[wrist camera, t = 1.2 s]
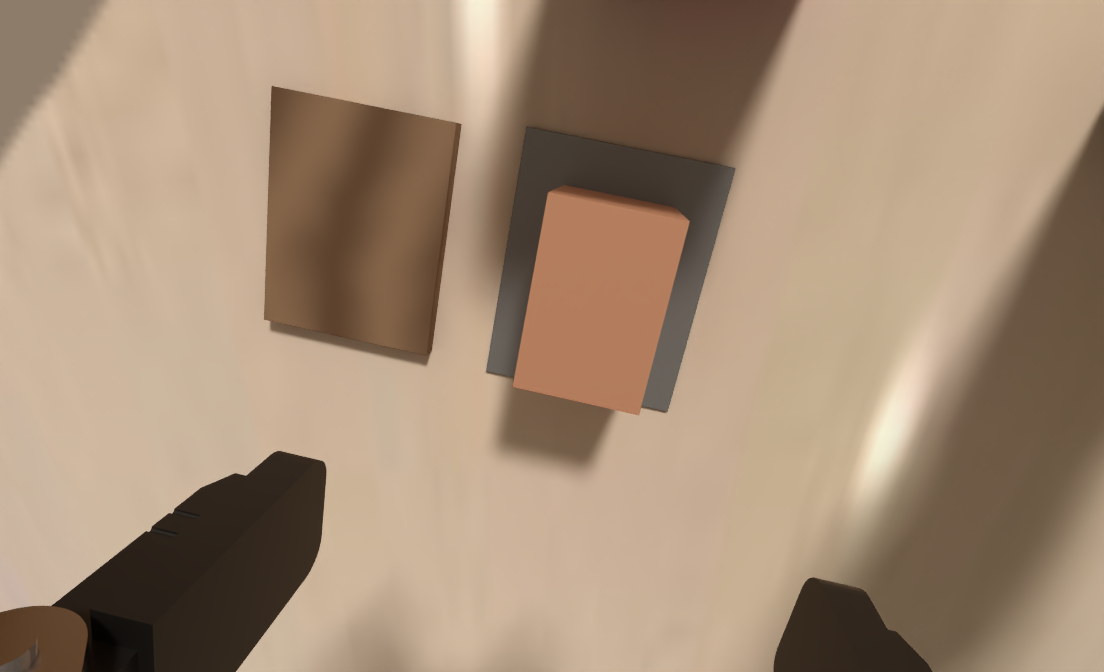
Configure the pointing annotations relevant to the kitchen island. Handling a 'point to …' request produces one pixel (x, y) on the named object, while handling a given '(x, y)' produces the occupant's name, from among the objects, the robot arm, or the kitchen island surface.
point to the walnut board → (357, 219)
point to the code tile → (622, 174)
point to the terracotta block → (598, 297)
